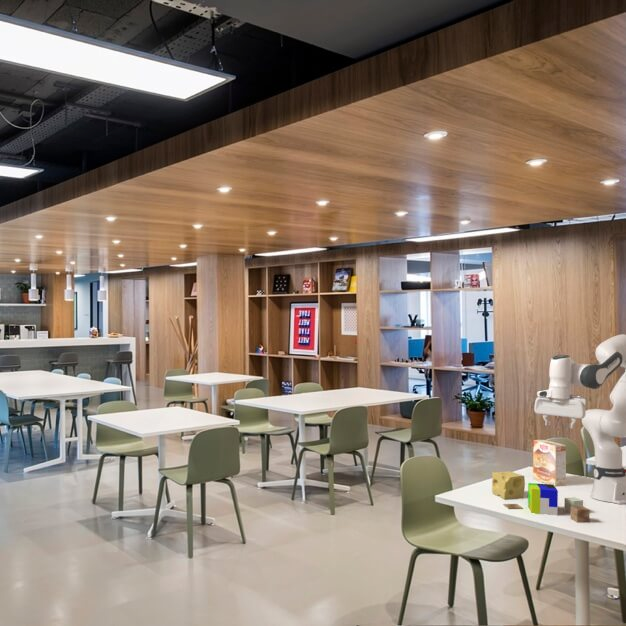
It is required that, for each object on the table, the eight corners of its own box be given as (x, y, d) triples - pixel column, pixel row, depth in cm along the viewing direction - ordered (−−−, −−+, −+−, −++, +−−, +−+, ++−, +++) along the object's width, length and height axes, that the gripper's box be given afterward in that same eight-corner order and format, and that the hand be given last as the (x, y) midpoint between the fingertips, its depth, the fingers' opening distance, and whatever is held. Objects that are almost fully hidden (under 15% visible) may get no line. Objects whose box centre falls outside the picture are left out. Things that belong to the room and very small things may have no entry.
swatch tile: (516, 504, 266) (516, 503, 266) (522, 508, 260) (522, 507, 260) (503, 504, 266) (503, 504, 266) (509, 509, 260) (509, 508, 260)
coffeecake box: (532, 479, 312) (532, 440, 313) (543, 478, 315) (543, 439, 315) (554, 486, 298) (555, 445, 299) (566, 485, 301) (566, 444, 302)
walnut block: (582, 518, 249) (582, 505, 249) (589, 522, 244) (589, 509, 244) (570, 518, 248) (570, 506, 249) (577, 522, 243) (577, 509, 244)
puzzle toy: (557, 515, 252) (557, 490, 252) (531, 513, 254) (531, 488, 255) (553, 508, 262) (553, 484, 262) (528, 506, 264) (528, 482, 264)
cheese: (504, 499, 274) (504, 477, 274) (490, 493, 284) (491, 471, 284) (524, 498, 277) (525, 475, 277) (510, 492, 287) (511, 470, 287)
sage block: (573, 509, 262) (574, 497, 262) (582, 512, 257) (583, 500, 257) (564, 510, 260) (564, 498, 260) (573, 513, 255) (573, 501, 255)
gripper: (588, 395, 259) (587, 429, 258) (538, 391, 272) (537, 423, 271) (583, 396, 254) (582, 430, 253) (533, 392, 267) (532, 424, 266)
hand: (559, 426), depth 262 cm, fingers open, 8 cm apart
